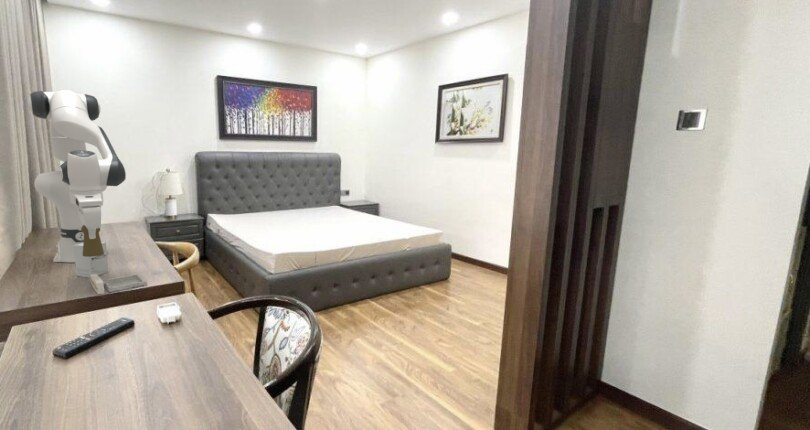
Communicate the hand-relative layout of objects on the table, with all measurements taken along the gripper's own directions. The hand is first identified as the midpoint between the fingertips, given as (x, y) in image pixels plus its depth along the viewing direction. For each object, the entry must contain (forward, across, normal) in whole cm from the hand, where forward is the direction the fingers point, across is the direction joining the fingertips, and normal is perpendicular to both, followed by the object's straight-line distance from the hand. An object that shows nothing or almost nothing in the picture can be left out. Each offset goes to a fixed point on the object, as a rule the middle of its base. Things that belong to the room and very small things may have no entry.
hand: (91, 237), depth 139 cm
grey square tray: (+19, +2, +8) cm, 21 cm away
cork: (+7, 0, 0) cm, 7 cm away
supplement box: (+19, -19, +2) cm, 27 cm away
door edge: (+19, +1, 0) cm, 19 cm away
